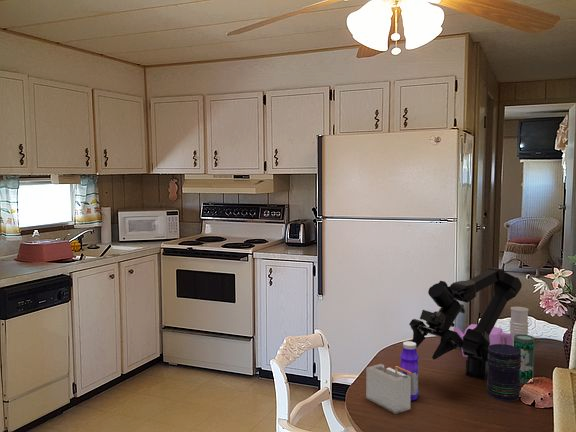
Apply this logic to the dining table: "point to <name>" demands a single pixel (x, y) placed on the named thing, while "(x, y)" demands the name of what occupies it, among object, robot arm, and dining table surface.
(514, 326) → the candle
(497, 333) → the teakettle
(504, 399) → the storage jar
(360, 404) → the dining table surface
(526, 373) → the can
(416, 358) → the bottle
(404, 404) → the grey open box
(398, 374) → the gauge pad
